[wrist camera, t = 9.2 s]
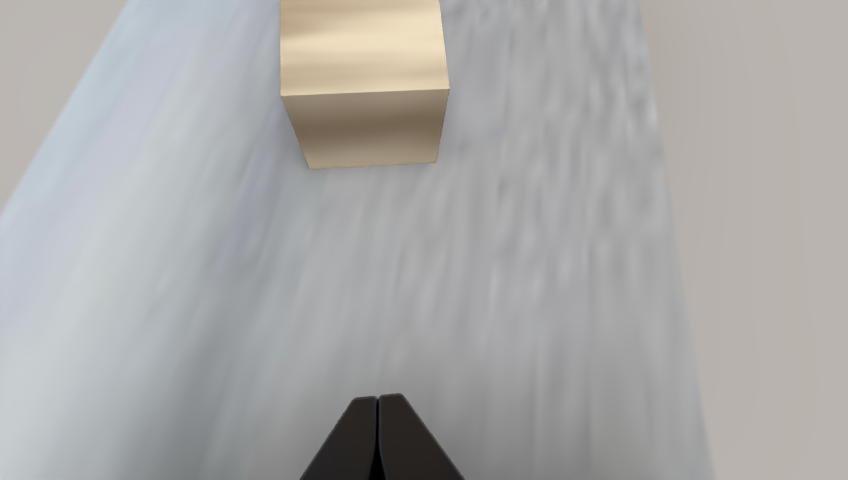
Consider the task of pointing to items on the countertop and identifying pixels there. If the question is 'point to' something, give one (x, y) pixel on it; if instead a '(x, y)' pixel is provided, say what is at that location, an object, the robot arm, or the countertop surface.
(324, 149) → the pine block
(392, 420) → the robot arm
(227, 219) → the countertop surface
